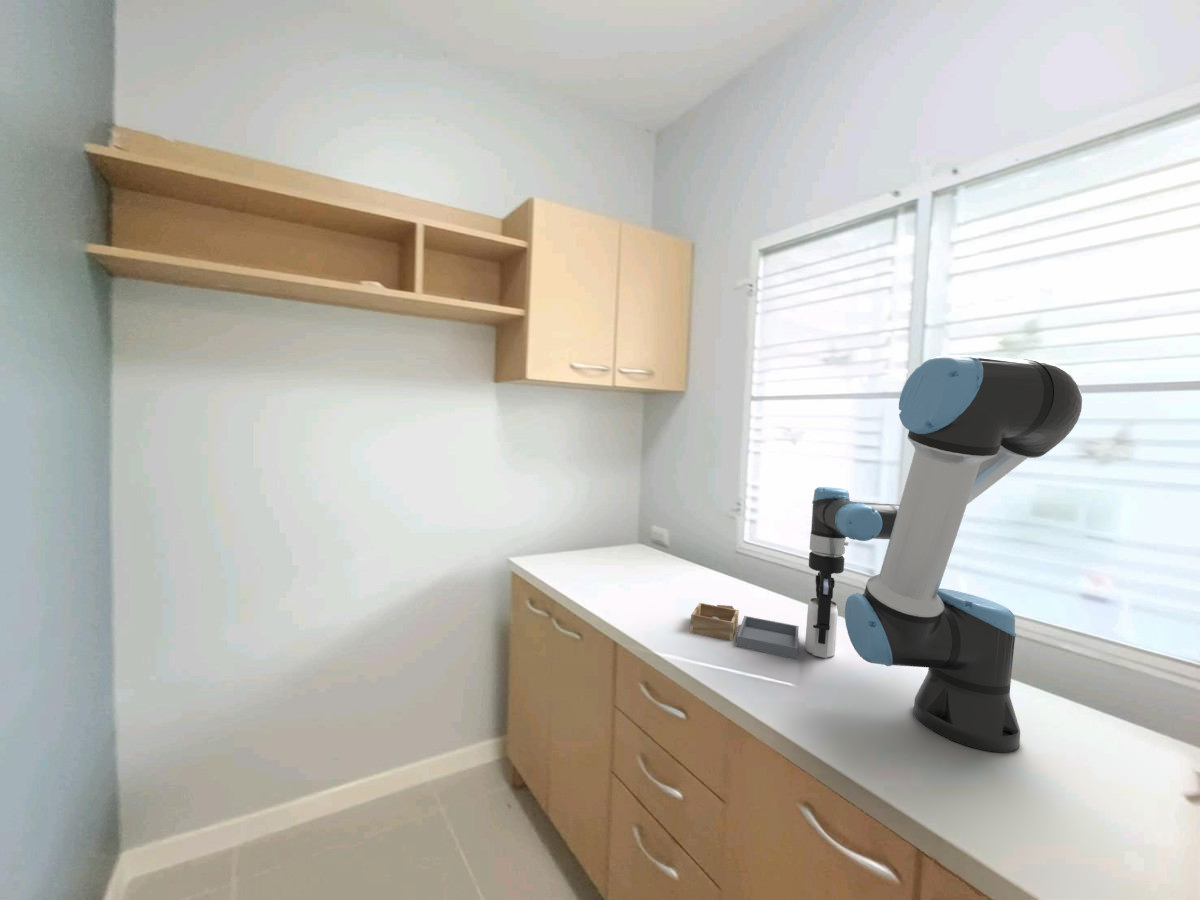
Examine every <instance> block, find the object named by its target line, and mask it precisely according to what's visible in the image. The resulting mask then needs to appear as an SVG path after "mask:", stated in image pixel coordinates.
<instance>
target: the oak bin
mask: <svg viewBox="0 0 1200 900" xmlns="http://www.w3.org/2000/svg"><path fill="white" fill-rule="evenodd" d="M739 610H740V609H735V608H734V609H730V608H725V607H719V606H717V605H713V604H709V603H704V602H703V603H702V602H698V604H697V606H696V607H695V608H694V609H693V611H692V613H691V614H690V628H689V633H692V634H695V635H696V634H697V635H701V636H706V637H710V638H715V639H720V640H724V641H728V642H729V641H730V642H733V639H734V637H735V635H736V633H737V629H738V623H739V614H740V612H739ZM711 617H718V618H719V619H715V618H711Z"/></svg>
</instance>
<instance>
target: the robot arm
mask: <svg viewBox="0 0 1200 900" xmlns="http://www.w3.org/2000/svg"><path fill="white" fill-rule="evenodd" d="M1082 406H1083V397H1082V392H1081V389H1080V387H1079V385H1078V383H1077V382H1076V380H1075V378H1073V376H1072V375H1071V374H1070V373H1068V372H1067V371H1066V370H1064V369H1063V368H1062V367H1060V366H1059V365H1056V364H1054V363H1051V362H1049V361H1044V360H1039V359H1026V358H1025V359H1017V358H1016V359H1015V358H1002V357H992V356H991V357H990V356H989V357H988V356H978V355H977V356H976V355H970V354H968V355H965V354H960V355H942V356H941V355H938V356H936V357H935V356H934V357H932V358H929V359H928V360H925V361H924V362H922V364H921V365H920V366H917V367H916V368H915V369H914V371H912V373H911V374H910V376H909V377H908V379H907V380H906V381H905V383H904V386H903V388H902V390H901V393H900V397H899V400H898V409H899V411H900V412H899V415H898V416H899V420H900V422H901V424H902V426H903V427H904V428H905V429H907V430H908V433H907V439H908V441H909V442H910V443H911V444H912V446H913V447H914V454H913V457H912V460H911V463H910V466H909V469H908V470H909V471H908V473H907V477H906V481H905V485H904V488H903V492H902V495H901V500H900V501H899V504H894V503H893V504H891V503H890V504H889V503H876V502H860V501H851V499H850V492H849V491H848V489H845V488H838V487H828V486H818V487H816V488H815V489H814V493H813V498H812V499H813V500H812V502H811V503H812V513H811V515H812V516H811V528H810V529H811V531H810V536H809V537H810V538H809V550H810V552H809V553H808V554H809V555H808V567H809V569H811V570H814V571H816V572H817V575H815V593H816V594H815V595H816V598H818V613H817V624H816V625H813V628H816V631H815V644H814V655H813V656H815V657H818V656H819V658H824V659H828V658H827V648H828V634H829V629H830V626H829V624H830V609H831V601H832V599H833V598H834V597H833V596H834V595H833V594H834V588H835V584H836V583H835V582H836V581H835V577H832V575H833V574H836V575H837V574H838V575H839V574H842V573H843V572H844V570H845V559H846V558H845V556H843V555H844V554H845V553H846V552H845V551H846V546H849V541H846V538H848V539H850V540H852V541H853V540H857V541H859V542H869V541H871V540H875V539H876V540H888V545H887V548H886V551H885V555H884V558H883V562H882V565H881V569H880V572H879V574H875V575H873V576H870V577H869V579H868V580H867V582H866V585H865V589H864V592H863V593H859V592H856V593H852V594H851V595H849V596H848V597H847V598H846V600H845V604H844V605H845V606H844V620H845V621H844V622H845V627H846V631H847V635H848V637H849V639H850V642H851V645H852V647H853V648H854V650H855V652H856V653H857V654H858V656H860V658H862V659H863V660H864V661H866V662H867V663H870V664H877V665H883V666H886V667H892V666H899V667H900V666H901V667H916V668H928V669H927V673H926V675H925V678H924V679H923V681H922V683H921V686H920V687H919V689H918V691H917V693H916V695H915V697H914V700H913V701H914V703H913V714H914V715H915V717H916V718H917V719H918V720H919V722H921V723H922V724H923V725H924V726H926V727H927V728H928V729H930V730H931V731H933V732H935V733H936V734H939V735H940V736H943V737H944V738H946V739H948V740H951V741H953V742H956V743H959V744H961V745H964V746H967V747H971V748H973V749H979V750H982V751H986V752H988V751H989V752H993V753H1009V752H1013V751H1016V750H1017V749H1019V747H1020V743H1021V729H1020V725H1019V722H1018V719H1017V716H1016V711H1015V708H1014V705H1013V702H1012V698H1011V683H1012V670H1013V660H1014V650H1015V643H1016V642H1015V640H1016V638H1017V634H1016V617H1015V614H1014V613H1013V612H1012V610H1010V609H1009V608H1007V607H1006V606H1004V605H1002V604H1000V603H997V602H995V601H992V600H990V599H986V598H984V597H980V596H977V595H975V594H970V593H967V592H964V591H963V592H962V591H958V590H954V589H947V588H940V587H941V584H942V583H941V582H942V580H943V577H944V574H945V572H946V568H947V565H948V562H949V559H950V556H951V554H952V550H953V548H954V545H955V541H956V539H957V535H958V532H959V529H960V526H961V524H962V520H963V517H964V514H965V513H966V509H967V505H969V504H970V503H971V502H973V501H974V500H975V499H976V498H978V497H979V496H981V495H982V494H983V493H985V491H987V490H988V489H989V488H991V487H992V486H993V485H995V484H996V483H997V482H998V481H1000V480H1001V479H1002V478H1004V477H1005V476H1006V475H1007V474H1009V473H1010V472H1012V471H1013V470H1014V469H1016V468H1017V467H1018V466H1020V465H1021V464H1022V463H1023V462H1025V461H1026V460H1027V459H1037V458H1041V457H1043V456H1044V455H1046V454H1047V453H1048V452H1049V451H1051V450H1052V449H1054V448H1055V447H1057V446H1058V445H1059V444H1060V443H1061V442H1062V441H1064V440H1065V438H1066V437H1067V436H1068V435H1069V434H1070V433H1071V432H1072V431H1073V429H1074V428H1075V426H1076V425H1077V423H1078V421H1079V419H1080V416H1081V413H1082Z"/></svg>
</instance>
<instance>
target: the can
mask: <svg viewBox="0 0 1200 900" xmlns="http://www.w3.org/2000/svg"><path fill="white" fill-rule="evenodd" d="M817 613H818V598H817V597H812V598H810V602H809V604H808V605H807V615H806V616H807V617H806V627H805V642H804V643H805V644H804V649H805V650H806V651H807V652H808V653H809V654H811V655H813V656H814V644H815V631H816V628H813V625H816V624H817ZM838 613H839V610H838V608H837V603H836V602H835V601H833V600H831V609H830V624H829V626H830V629H829V634H828V648H827V658H826V659H828V658H832V657H834V656H835V654H836V645H837V643H836V642H837V634H838V633H837V631H838V617H839V616H838V615H839V614H838ZM817 657H819V656H817ZM819 658H820V657H819Z"/></svg>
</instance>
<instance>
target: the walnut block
mask: <svg viewBox="0 0 1200 900" xmlns="http://www.w3.org/2000/svg"><path fill="white" fill-rule="evenodd" d="M716 606H719V607H725V608H730V609H735V608H734V607H733V605H726V604H716Z"/></svg>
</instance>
